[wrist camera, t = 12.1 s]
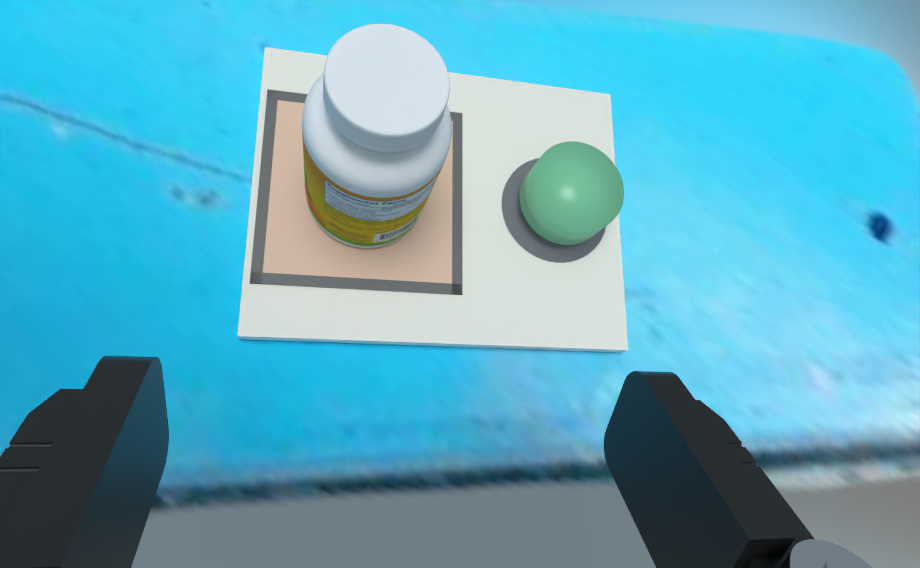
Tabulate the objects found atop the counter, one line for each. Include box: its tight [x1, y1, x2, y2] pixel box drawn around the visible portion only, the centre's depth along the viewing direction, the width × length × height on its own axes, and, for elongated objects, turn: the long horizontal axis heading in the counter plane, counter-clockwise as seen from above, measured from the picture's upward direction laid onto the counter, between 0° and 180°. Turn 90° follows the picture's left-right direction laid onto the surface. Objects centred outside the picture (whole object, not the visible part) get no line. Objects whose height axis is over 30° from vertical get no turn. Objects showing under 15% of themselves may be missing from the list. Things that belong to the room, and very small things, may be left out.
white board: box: [238, 47, 628, 352], centre depth 29 cm, size 18×14×1 cm
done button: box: [520, 141, 624, 245], centre depth 28 cm, size 4×4×2 cm
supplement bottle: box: [302, 24, 452, 248], centre depth 23 cm, size 5×5×10 cm
